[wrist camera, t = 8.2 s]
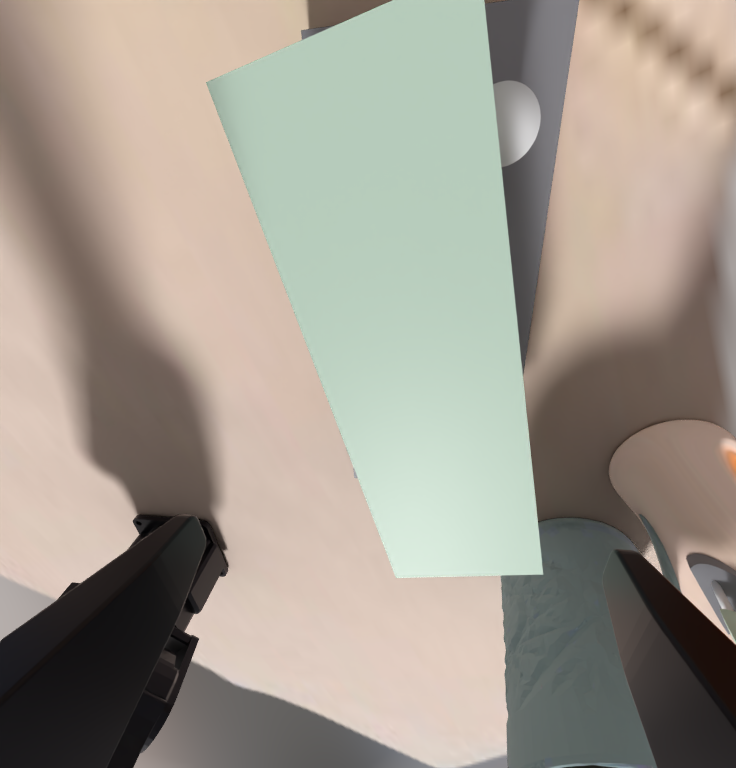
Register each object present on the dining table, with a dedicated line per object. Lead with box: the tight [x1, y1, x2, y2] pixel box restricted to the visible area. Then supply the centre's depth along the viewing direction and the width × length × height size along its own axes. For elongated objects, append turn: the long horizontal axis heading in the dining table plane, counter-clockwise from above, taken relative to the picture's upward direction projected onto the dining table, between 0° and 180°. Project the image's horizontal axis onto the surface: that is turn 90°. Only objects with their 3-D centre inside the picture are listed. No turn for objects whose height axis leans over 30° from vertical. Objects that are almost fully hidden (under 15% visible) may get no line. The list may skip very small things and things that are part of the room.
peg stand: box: [301, 0, 579, 478], centre depth 17 cm, size 9×21×5 cm, turn 4°
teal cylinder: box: [501, 518, 657, 768], centre depth 21 cm, size 10×10×12 cm
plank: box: [206, 0, 543, 578], centre depth 13 cm, size 6×18×3 cm, turn 16°
